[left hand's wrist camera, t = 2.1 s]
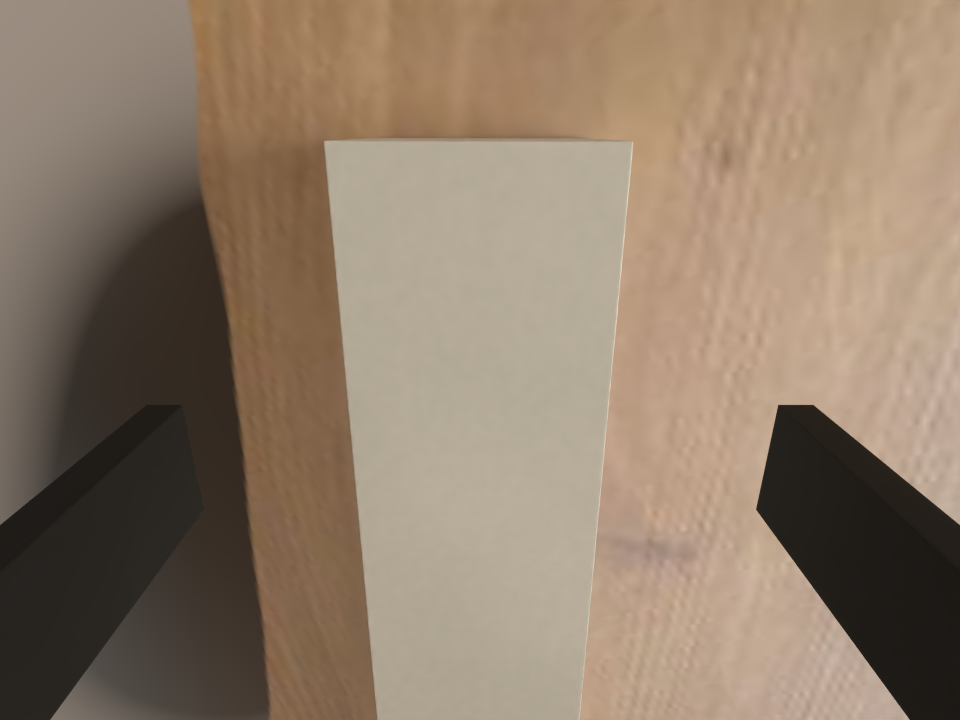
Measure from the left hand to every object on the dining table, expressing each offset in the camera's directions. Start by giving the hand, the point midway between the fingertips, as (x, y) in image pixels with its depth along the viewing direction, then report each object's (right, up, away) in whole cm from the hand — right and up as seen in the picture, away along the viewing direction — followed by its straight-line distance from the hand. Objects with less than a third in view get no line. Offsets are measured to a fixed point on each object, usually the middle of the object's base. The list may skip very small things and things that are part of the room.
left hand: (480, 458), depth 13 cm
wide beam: (0, -20, +22) cm, 29 cm away
